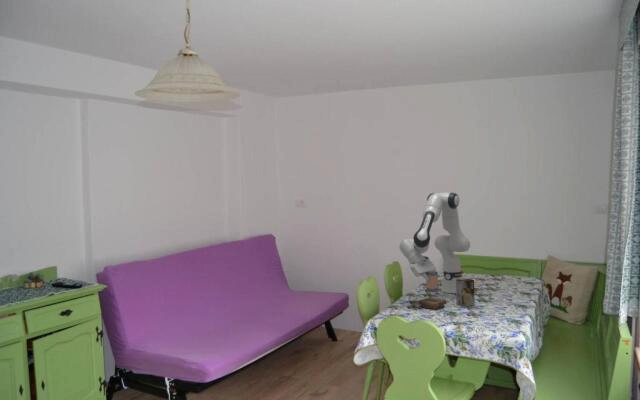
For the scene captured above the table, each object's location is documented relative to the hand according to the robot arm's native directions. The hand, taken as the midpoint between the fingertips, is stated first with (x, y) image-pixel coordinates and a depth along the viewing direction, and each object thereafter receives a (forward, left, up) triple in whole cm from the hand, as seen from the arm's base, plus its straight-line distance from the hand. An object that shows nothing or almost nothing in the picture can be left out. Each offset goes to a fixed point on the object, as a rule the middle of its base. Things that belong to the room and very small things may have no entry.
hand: (431, 279), depth 307 cm
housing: (0, 0, -7) cm, 7 cm away
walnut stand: (0, 0, -17) cm, 17 cm away
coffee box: (-17, +13, -17) cm, 28 cm away
